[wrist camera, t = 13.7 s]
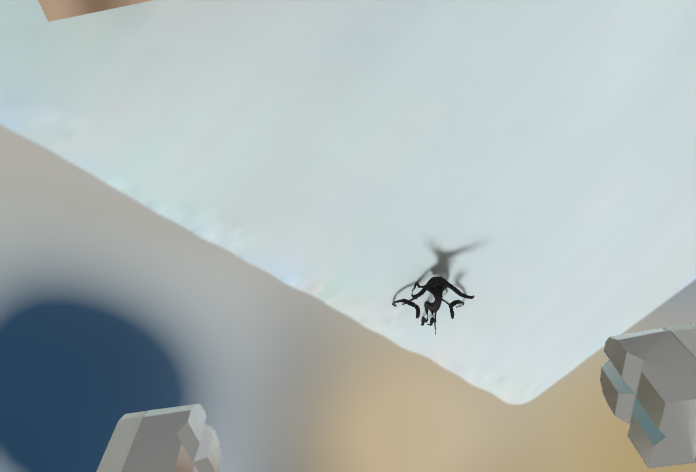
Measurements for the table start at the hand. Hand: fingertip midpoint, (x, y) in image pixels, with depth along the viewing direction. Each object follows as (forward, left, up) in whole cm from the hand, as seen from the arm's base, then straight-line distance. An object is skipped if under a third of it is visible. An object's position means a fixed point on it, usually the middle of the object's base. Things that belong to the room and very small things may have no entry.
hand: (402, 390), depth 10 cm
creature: (-17, +20, -34) cm, 42 cm away
